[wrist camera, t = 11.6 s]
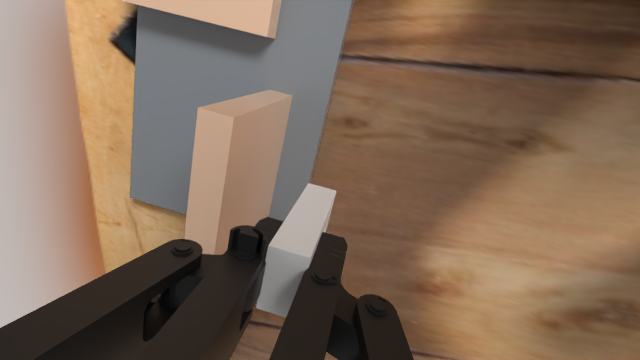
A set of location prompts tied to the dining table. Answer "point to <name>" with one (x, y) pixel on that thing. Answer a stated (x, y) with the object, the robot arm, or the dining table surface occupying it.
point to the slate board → (231, 92)
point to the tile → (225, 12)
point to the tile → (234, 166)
